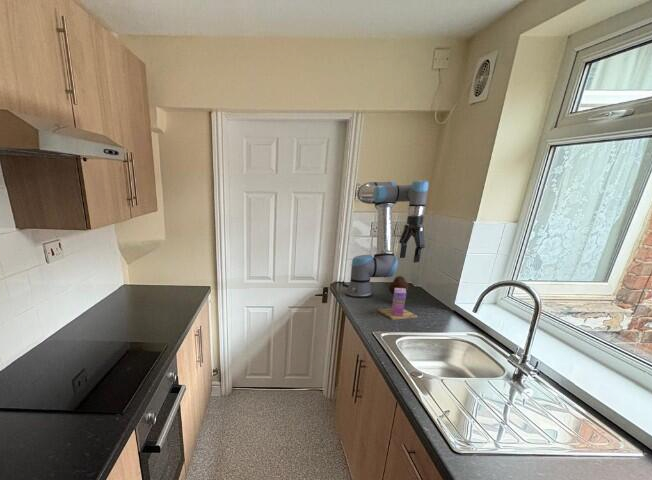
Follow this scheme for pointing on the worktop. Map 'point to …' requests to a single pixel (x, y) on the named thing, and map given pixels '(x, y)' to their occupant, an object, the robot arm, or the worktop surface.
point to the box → (398, 301)
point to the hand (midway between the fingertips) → (409, 260)
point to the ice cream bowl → (398, 284)
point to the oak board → (405, 315)
